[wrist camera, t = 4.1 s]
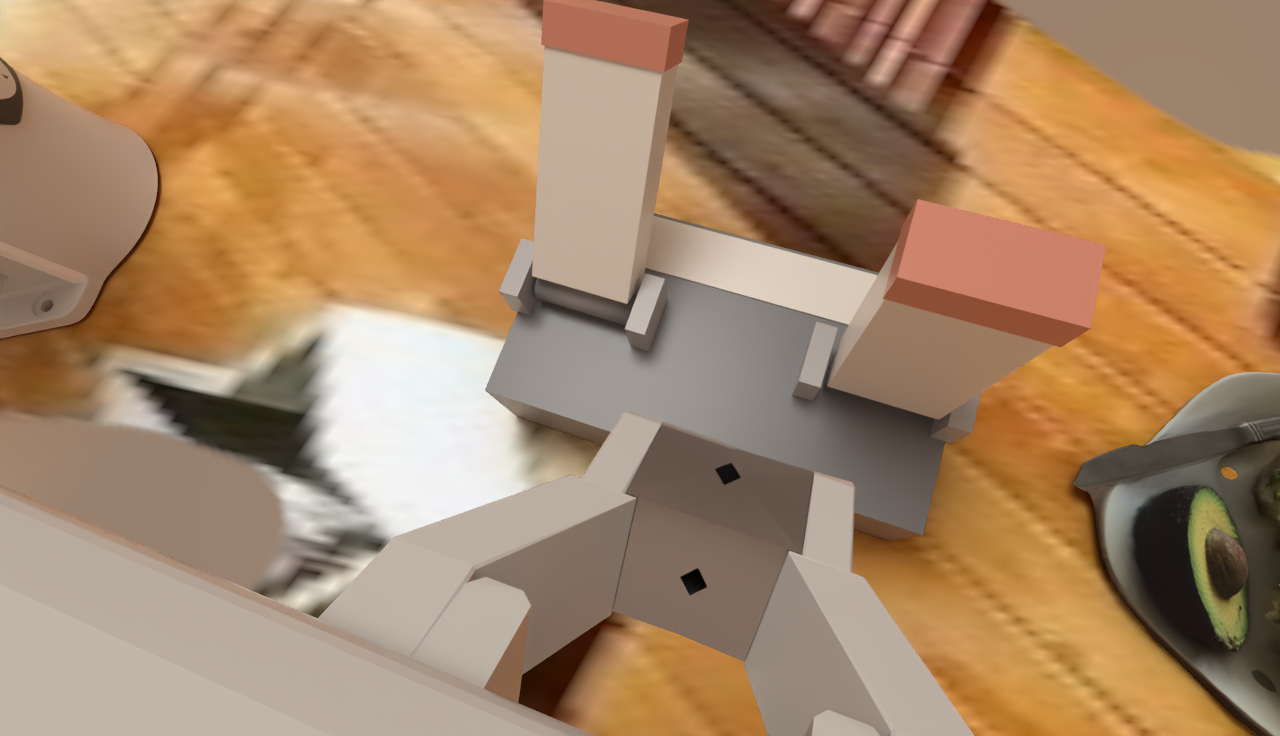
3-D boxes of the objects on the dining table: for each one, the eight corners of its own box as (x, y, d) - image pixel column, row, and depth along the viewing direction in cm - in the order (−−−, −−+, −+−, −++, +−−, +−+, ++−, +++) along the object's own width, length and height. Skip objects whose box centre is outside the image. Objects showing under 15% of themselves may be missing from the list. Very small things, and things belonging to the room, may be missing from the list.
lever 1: (623, 336, 33) (671, 26, 25) (527, 307, 34) (543, -1, 26) (640, 313, 35) (688, 20, 27) (549, 286, 36) (570, -5, 28)
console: (894, 542, 36) (949, 534, 28) (511, 414, 40) (462, 374, 32) (943, 340, 39) (1005, 280, 31) (582, 240, 43) (553, 163, 35)
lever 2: (927, 430, 31) (1090, 328, 18) (818, 397, 32) (897, 277, 19) (940, 379, 32) (1105, 244, 19) (831, 348, 33) (917, 199, 20)
